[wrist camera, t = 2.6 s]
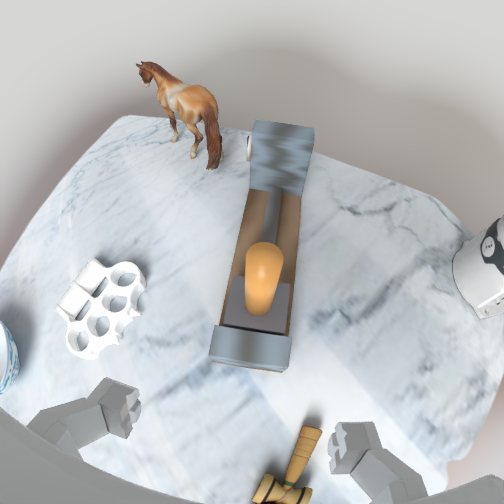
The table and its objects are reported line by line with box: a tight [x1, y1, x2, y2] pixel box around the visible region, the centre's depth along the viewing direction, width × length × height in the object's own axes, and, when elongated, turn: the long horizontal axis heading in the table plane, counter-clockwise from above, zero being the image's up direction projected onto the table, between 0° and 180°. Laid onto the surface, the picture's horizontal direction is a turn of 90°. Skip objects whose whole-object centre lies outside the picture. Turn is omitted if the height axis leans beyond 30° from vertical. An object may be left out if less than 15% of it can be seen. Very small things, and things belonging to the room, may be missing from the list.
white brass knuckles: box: [55, 258, 146, 360], centre depth 40 cm, size 3×18×15 cm
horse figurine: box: [136, 61, 223, 170], centre depth 53 cm, size 31×8×21 cm, turn 40°
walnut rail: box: [209, 120, 314, 373], centre depth 41 cm, size 11×36×15 cm, turn 171°
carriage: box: [223, 242, 290, 336], centre depth 33 cm, size 8×7×14 cm
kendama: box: [252, 426, 322, 504], centre depth 27 cm, size 8×6×18 cm
